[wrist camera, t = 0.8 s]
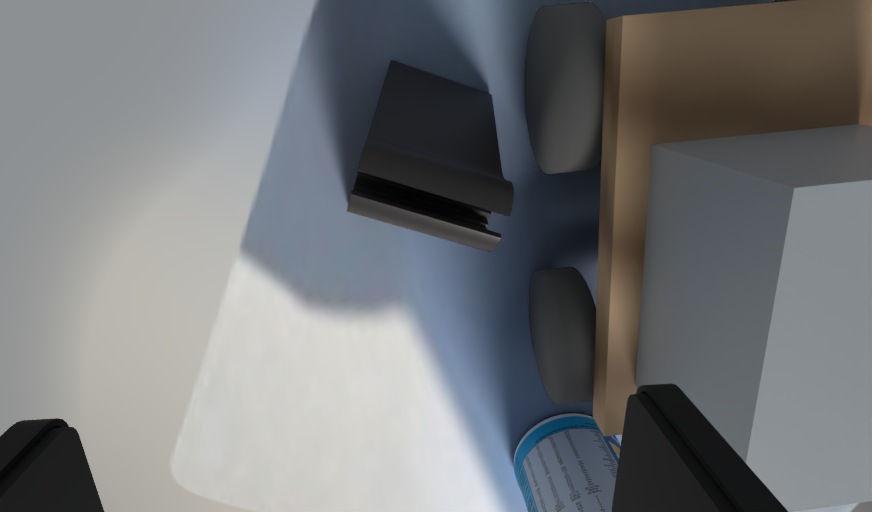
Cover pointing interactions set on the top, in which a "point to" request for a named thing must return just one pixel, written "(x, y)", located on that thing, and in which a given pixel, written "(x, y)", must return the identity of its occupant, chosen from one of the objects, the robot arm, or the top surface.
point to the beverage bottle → (567, 465)
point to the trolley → (718, 226)
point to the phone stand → (433, 160)
